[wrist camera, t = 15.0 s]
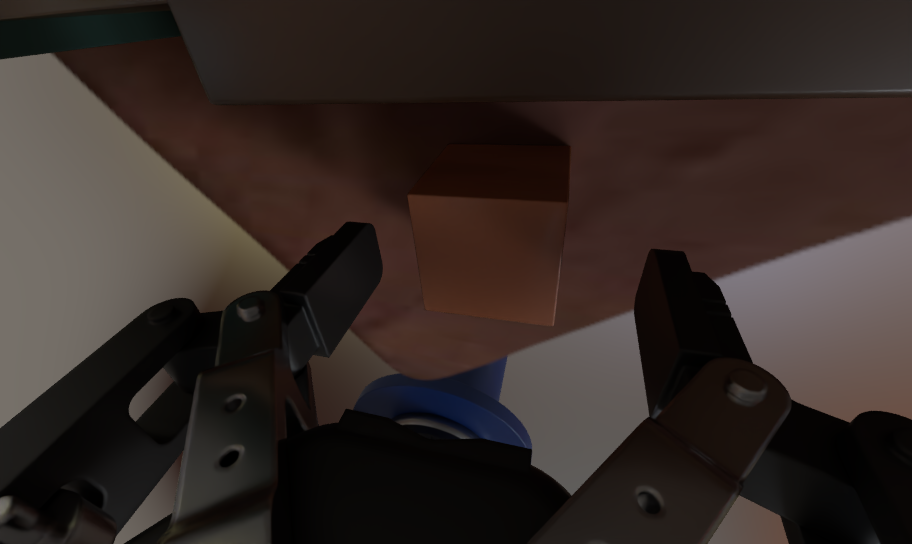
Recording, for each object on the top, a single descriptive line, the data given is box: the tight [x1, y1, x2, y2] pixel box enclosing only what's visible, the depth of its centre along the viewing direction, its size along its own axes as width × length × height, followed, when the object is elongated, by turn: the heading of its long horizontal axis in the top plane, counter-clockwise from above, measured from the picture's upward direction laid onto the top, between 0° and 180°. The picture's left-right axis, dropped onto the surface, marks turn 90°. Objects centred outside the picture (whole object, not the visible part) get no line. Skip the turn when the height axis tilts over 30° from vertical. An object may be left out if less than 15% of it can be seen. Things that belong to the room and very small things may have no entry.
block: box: [407, 144, 571, 326], centre depth 13 cm, size 4×4×4 cm
